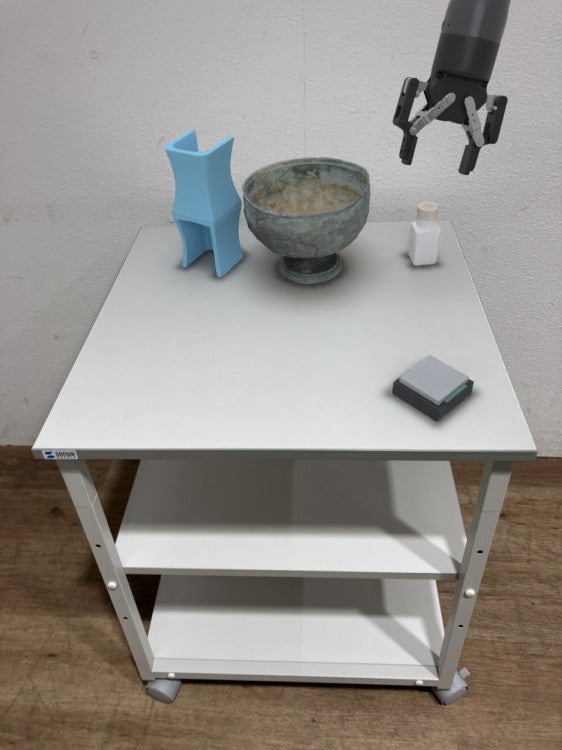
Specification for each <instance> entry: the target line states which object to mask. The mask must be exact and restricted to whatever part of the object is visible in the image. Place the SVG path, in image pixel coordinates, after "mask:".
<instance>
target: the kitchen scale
mask: <svg viewBox="0 0 562 750" xmlns="http://www.w3.org/2000/svg"><path fill="white" fill-rule="evenodd" d="M474 384H475V381H474V380H472V379H470V376H469V375H467V374H464V372H463V373H462V372H461V371H459V370H457V369H456V368H455V367H452V366H451V365H448V364H447V363H445V362H443V361H442V360H439V359H438V358H436V357H434V356H433V355H430V354H429V355H428V356H426V357H425V358H423V360H421V361H419V362H418V363H417V364H416V365H415V366H413V367H412V368H410V369H409V370H408V371H406V372H405V373H403V374H402V375H400V377H398V378H397V379H395V380H394V381H393V383H392V393H391V394H393V395H394V396H395V397H397V398H399V399H400V400H402V401H404V402H405V403H407V404H409V405H410V406H411V407H413V408H415V409H417V411H419V412H421V413H423V414H424V415H426V416H427V417H429V418H431V419H432V420H434V421H435V422H439V421H440V420H442V418H444V417H445V416H446V415H447V414H448V413H449V412H451V411H452V410H453V409H454V408H456V407H457V406H458V405H459V404H460V403H462V402H463V401H464V400H465V399H467V398H468V397H469V396H470V395H471V394H472V393H473V389H474Z"/></svg>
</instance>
